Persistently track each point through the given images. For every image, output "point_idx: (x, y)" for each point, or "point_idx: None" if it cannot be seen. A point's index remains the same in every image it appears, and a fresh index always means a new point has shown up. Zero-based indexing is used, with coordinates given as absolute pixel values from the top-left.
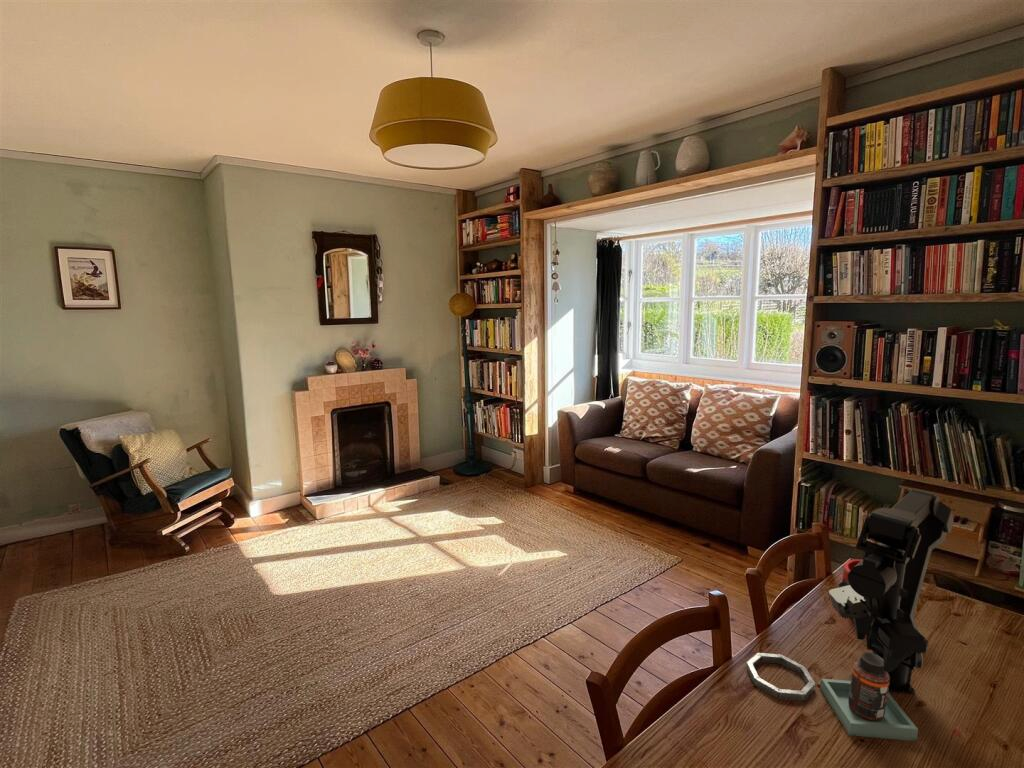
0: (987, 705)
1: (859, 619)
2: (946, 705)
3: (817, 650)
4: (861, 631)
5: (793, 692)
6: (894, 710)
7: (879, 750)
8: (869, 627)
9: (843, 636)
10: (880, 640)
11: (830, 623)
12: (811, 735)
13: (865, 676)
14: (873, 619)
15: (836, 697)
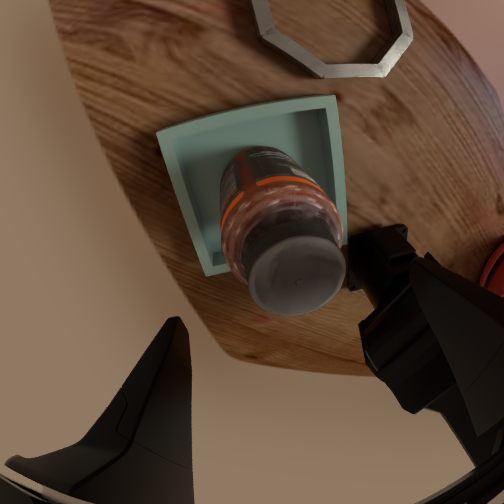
0: (332, 356)
1: (480, 332)
2: (324, 320)
3: (448, 145)
4: (433, 296)
5: (258, 9)
6: None
7: (143, 184)
8: (438, 338)
9: (474, 214)
10: (45, 485)
11: (496, 204)
12: (130, 46)
13: (236, 216)
14: (488, 272)
15: (258, 113)
